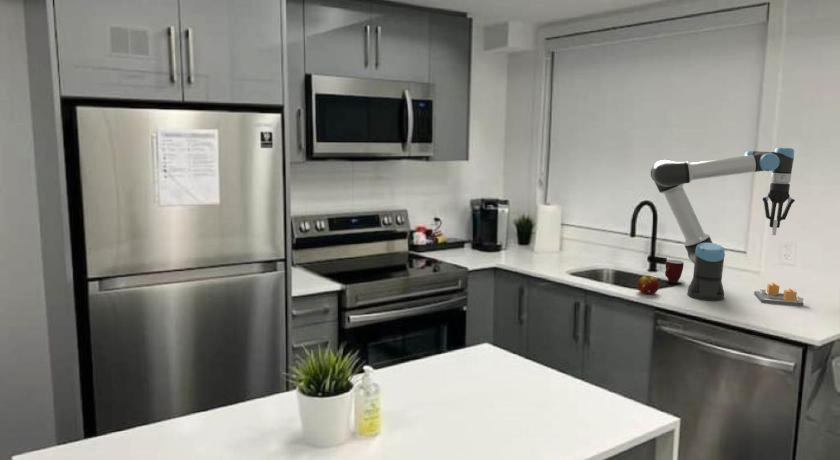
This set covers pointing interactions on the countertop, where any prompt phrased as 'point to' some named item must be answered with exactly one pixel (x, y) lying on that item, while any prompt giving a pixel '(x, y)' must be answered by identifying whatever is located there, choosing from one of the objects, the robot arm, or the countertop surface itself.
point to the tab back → (773, 289)
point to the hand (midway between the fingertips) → (773, 234)
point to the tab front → (789, 295)
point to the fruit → (648, 284)
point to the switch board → (776, 298)
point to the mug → (673, 270)
